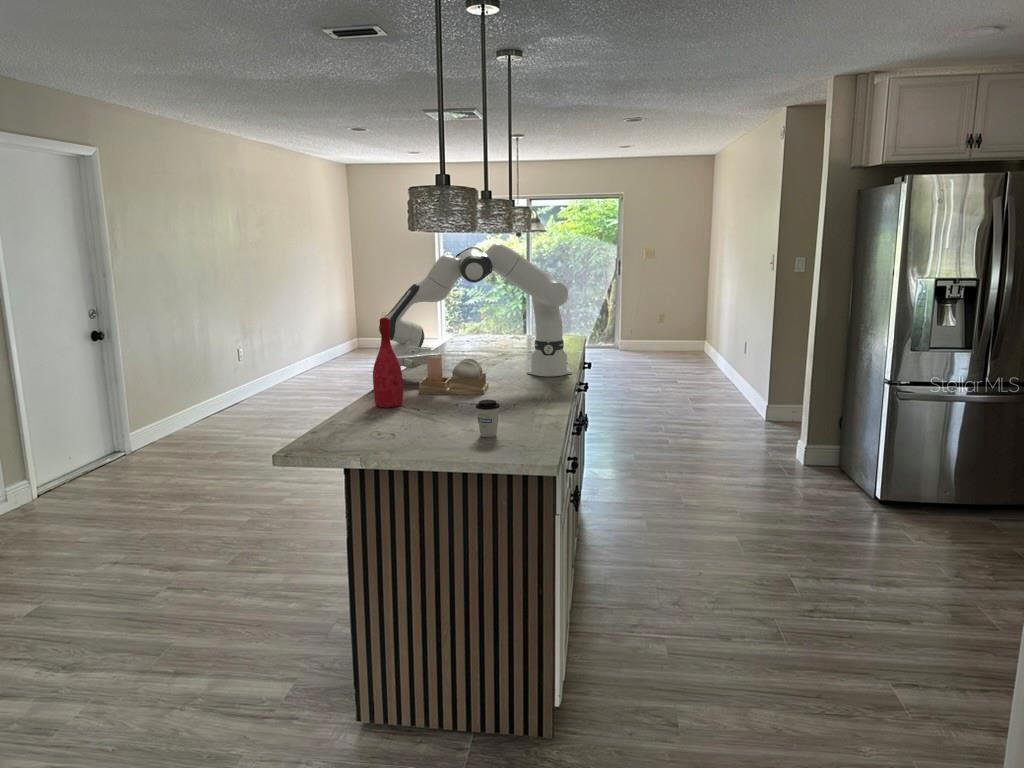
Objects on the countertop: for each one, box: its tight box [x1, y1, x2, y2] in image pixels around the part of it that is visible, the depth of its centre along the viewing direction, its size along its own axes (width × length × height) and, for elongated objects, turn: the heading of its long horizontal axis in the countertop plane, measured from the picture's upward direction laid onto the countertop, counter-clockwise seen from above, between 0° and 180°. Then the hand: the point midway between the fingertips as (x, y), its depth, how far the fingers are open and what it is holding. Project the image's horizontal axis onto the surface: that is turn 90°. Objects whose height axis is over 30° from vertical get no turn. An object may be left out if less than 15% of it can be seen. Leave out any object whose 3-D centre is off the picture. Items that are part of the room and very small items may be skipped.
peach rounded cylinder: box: [426, 356, 444, 382], centre depth 255 cm, size 6×6×11 cm
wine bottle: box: [372, 317, 404, 409], centre depth 231 cm, size 10×10×30 cm
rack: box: [418, 357, 489, 395], centre depth 255 cm, size 13×24×12 cm, turn 84°
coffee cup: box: [475, 399, 501, 438], centre depth 194 cm, size 7×7×10 cm
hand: (424, 361), depth 262 cm, fingers open, 8 cm apart
